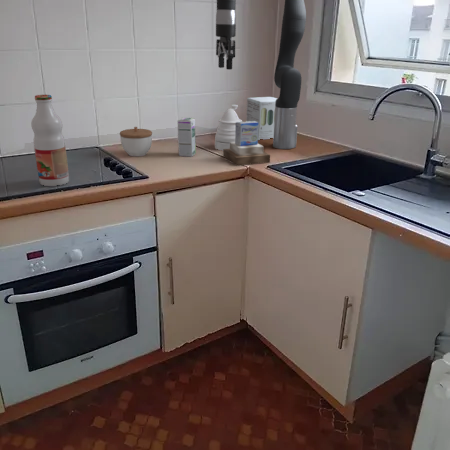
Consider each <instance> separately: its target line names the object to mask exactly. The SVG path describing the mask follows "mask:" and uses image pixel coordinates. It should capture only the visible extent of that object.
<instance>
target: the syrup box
mask: <svg viewBox="0 0 450 450" xmlns="http://www.w3.org/2000/svg"><path fill="white" fill-rule="evenodd" d="M177 138H178V139H177V140H178V142H177V143H178V144H177V145H178V156H179V157H190V158H192V157H193V156H194V155H195V154H196V153H197V146H196V145H197V143H196V118H194V117H181V118H179V119H178V120H177Z"/></svg>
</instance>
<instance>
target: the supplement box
mask: <svg viewBox="0 0 450 450" xmlns="http://www.w3.org/2000/svg"><path fill="white" fill-rule="evenodd" d="M278 98H279V97H278ZM278 98H277V97H273V96H259V97H247V98H246V120H245V121H256V122H258V123H259V125H258V141H261V140H260V139H263V140H271V139H270V138H273V137H274V120H275V102H276V100H277V99H278Z"/></svg>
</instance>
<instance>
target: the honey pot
mask: <svg viewBox="0 0 450 450" xmlns="http://www.w3.org/2000/svg"><path fill="white" fill-rule="evenodd" d="M238 108H239V105H238V104H231V108H227V109H226V110H225V112H223V114H222V117H221V118H219V119H218V122H219V124H218V127H217V130H216V133H215V135H214V137H215V138H214V149H215V150H217V149H218V151H221V150H222V151H221V152H223V149H230V142H235V130H236V122H243V120H242V118H239V115H238V113H237V112H236V110H237V109H238Z"/></svg>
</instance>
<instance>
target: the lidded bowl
mask: <svg viewBox="0 0 450 450" xmlns="http://www.w3.org/2000/svg"><path fill="white" fill-rule="evenodd" d="M119 135H120V143H121V147H122V149H123V151H124V152H126V153H127V154H128V156H130V157H143V156H147V153H148V152H149V151H150V150H151V147H152V143H153V131H152V130H150V129H147V128H146V129H145V128H138V126H134V127H133V128H128V129H124V130H121V131H120V132H119Z"/></svg>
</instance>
